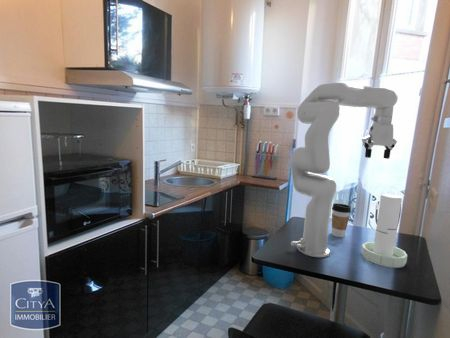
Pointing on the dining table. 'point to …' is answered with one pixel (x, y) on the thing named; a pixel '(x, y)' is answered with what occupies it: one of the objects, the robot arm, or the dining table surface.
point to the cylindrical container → (387, 224)
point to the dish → (393, 262)
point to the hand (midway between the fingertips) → (377, 157)
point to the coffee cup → (340, 219)
